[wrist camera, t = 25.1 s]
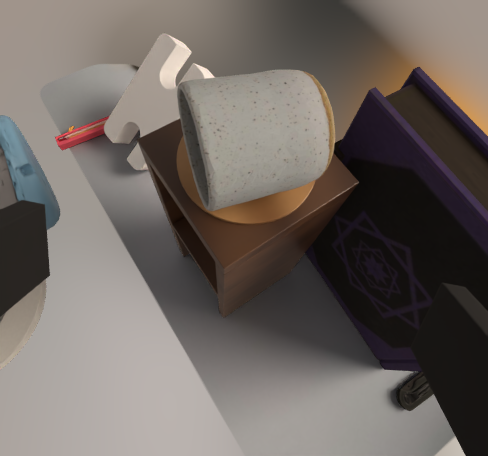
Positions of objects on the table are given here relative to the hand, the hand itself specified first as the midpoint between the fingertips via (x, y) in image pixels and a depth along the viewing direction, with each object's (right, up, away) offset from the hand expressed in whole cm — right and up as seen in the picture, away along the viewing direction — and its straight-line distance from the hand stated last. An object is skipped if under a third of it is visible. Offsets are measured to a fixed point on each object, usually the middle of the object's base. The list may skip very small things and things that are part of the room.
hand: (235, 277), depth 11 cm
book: (+16, -7, +39) cm, 43 cm away
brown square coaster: (+1, +6, +15) cm, 16 cm away
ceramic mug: (0, +7, +14) cm, 15 cm away
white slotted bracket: (-13, +19, +37) cm, 44 cm away
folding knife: (+26, -21, +34) cm, 47 cm away
